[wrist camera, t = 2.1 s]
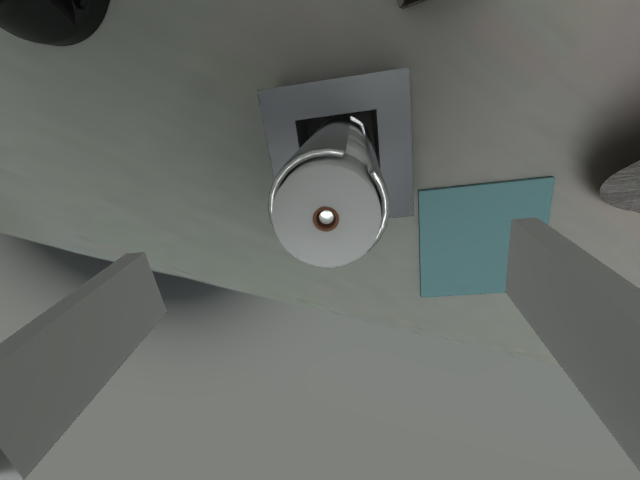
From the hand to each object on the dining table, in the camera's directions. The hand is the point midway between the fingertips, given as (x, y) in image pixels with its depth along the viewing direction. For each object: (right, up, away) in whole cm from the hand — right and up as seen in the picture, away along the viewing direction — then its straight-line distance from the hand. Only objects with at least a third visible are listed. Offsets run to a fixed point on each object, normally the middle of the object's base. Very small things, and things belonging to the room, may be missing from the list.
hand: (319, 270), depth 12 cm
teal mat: (+20, +1, +31) cm, 37 cm away
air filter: (+3, +12, +28) cm, 30 cm away
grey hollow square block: (+3, +12, +27) cm, 30 cm away
